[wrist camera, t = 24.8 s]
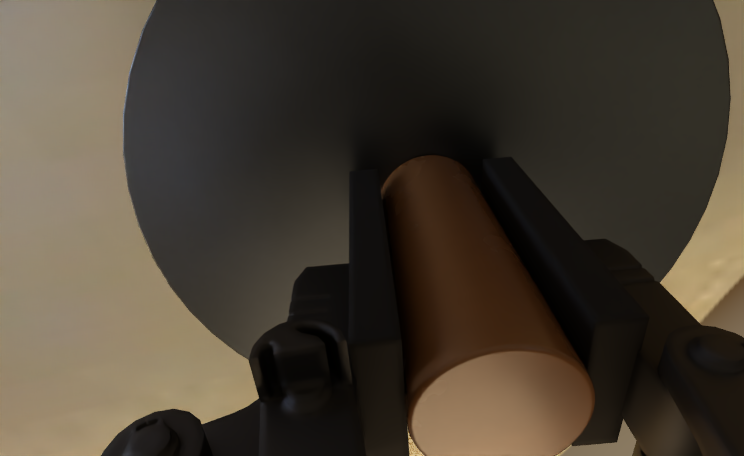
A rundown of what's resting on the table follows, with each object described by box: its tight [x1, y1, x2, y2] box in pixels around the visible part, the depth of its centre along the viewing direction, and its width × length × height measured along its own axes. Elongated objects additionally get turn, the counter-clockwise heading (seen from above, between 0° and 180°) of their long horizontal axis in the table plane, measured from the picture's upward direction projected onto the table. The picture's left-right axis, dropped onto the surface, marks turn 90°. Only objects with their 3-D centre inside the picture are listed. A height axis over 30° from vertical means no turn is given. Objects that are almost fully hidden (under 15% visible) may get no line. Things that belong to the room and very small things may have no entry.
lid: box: [123, 0, 731, 456], centre depth 11 cm, size 17×17×9 cm
